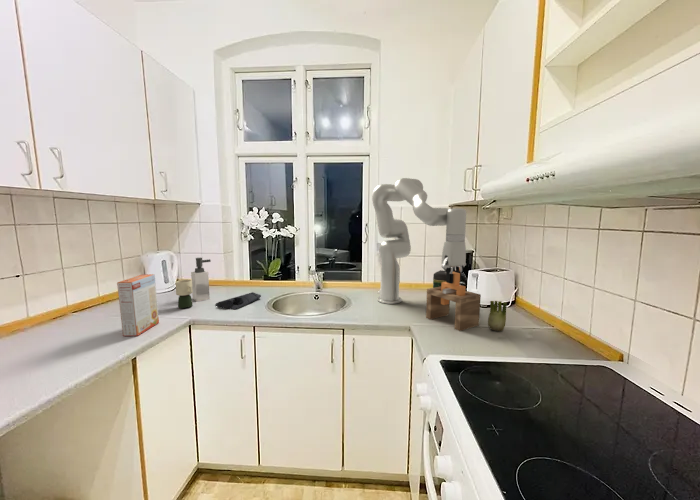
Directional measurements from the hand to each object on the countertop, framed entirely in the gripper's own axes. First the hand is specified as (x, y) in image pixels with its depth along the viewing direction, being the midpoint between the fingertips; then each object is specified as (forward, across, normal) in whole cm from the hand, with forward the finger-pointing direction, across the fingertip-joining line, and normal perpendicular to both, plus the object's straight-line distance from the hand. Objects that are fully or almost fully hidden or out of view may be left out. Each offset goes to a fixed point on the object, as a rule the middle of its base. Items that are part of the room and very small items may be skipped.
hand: (453, 281), depth 132 cm
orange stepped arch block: (+11, 0, 0) cm, 11 cm away
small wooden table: (+17, 0, 0) cm, 17 cm away
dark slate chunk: (+18, +70, -76) cm, 105 cm away
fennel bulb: (+17, -7, +16) cm, 25 cm away
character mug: (+18, +95, -81) cm, 126 cm away
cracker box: (+18, +112, -58) cm, 127 cm away
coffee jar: (+17, -9, -14) cm, 24 cm away
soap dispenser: (+18, +85, -92) cm, 127 cm away
